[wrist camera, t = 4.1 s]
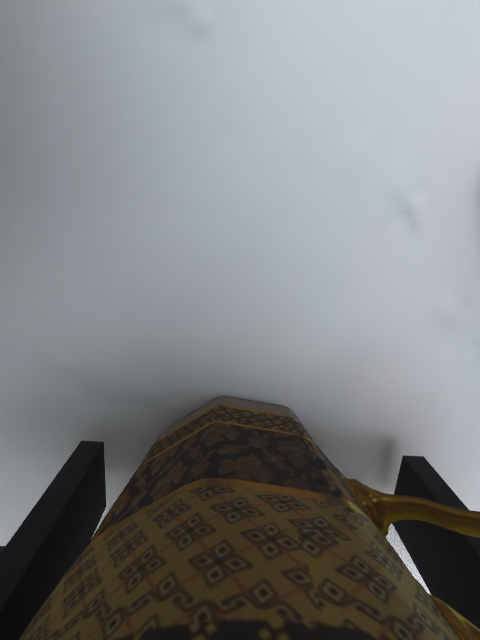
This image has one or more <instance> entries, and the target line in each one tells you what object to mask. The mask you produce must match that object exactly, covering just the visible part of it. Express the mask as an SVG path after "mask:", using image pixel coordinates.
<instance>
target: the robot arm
mask: <svg viewBox="0 0 480 640" xmlns="http://www.w3.org/2000/svg"><path fill="white" fill-rule="evenodd" d="M394 495H402V496H413V497H418V498H423V499H426V500H430V501H433V502H436V503H440V504H443V505H447V506H450V507H454V508H459V509H464V510H468V508H467V507H466V506H465V505H464V504H463V503H462V501H461V500H460V499H459V498H458V497H457V496H456V494H455V493H454V492H453V491H452V490H451V488H450V487H449V486H448V485H447V484H446V483H445V481H444V480H443V479H442V478H441V477H440V475H439V474H438V473H437V472H436V471H435V470H434V468H433V467H432V466H431V465H430V464H429V463H428V461H427V460H426V459H425V458H424V457H422V456H403V458H402V462H401V466H400V471H399V475H398V479H397V484H396V488H395V492H394ZM105 508H106V489H105V464H104V442H97V441H81V442H80V443H79V445H78V446H77V448H76V449H75V450H74V452H73V453H72V455H71V456H70V457H69V459H68V460H67V462H66V463H65V464H64V466H63V467H62V469H61V470H60V471H59V473H58V474H57V476H56V477H55V478H54V480H53V481H52V483H51V484H50V485H49V487H48V488H47V489H46V491H45V492H44V494H43V495H42V496H41V498H40V499H39V501H38V502H37V503H36V505H35V506H34V508H33V509H32V510H31V512H30V513H29V515H28V516H27V517H26V519H25V520H24V522H23V523H22V524H21V526H20V527H19V529H18V530H17V531H16V533H15V534H14V536H13V537H12V538H11V540H10V541H9V543H8V544H7V545H6V546H0V640H19V638H20V637H21V635H22V634H23V633H24V631H25V630H26V628H27V627H28V625H29V624H30V622H31V621H32V619H33V618H34V616H35V615H36V614H37V612H38V611H39V609H40V608H41V607H42V605H43V604H44V603H45V601H46V600H47V598H48V597H49V596H50V594H51V593H52V592H53V590H54V589H55V588H56V586H57V585H58V583H59V582H60V581H61V579H62V578H63V577H64V575H65V574H66V573H67V572H68V570H69V569H70V568H71V566H72V565H73V564H74V563H75V561H76V560H77V559H78V557H79V556H80V555H81V554H82V552H83V551H84V550H85V548H86V547H87V546H88V544H89V543H90V541H91V538H92V536H93V534H94V532H95V530H96V528H97V525H98V523H99V521H100V519H101V517H102V514H103V512H104V510H105ZM392 524H393V526H394V527H395V529H396V531H397V533H398V535H399V536H400V538H401V540H402V542H403V544H404V546H405V547H406V549H407V551H408V553H409V555H410V557H411V558H412V560H413V562H414V564H415V566H416V567H417V569H418V571H419V573H420V575H421V577H422V578H423V580H424V582H425V584H426V586H427V587H428V589H429V591H430V593H431V595H432V596H434V597H436V598H438V599H440V600H442V601H443V602H445V603H446V604H447V605H449V606H450V607H451V608H452V609H454V610H455V611H456V612H458V613H459V614H460V615H462V616H463V617H464V618H465V619H467V620H468V621H469V622H471V623H472V624H473V625H474V626H476V627H477V628H478V629H480V538H479V537H474V536H468V535H465V534H462V533H458V532H455V531H452V530H449V529H447V528H444V527H441V526H438V525H435V524H432V523H429V522H426V521H420V520H414V519H409V520H399V521H395V522H393V523H392Z"/></svg>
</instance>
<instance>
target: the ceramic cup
mask: <svg viewBox="0 0 480 640" xmlns="http://www.w3.org/2000/svg"><path fill="white" fill-rule="evenodd" d="M409 519H414V520H420V521H426V522H429V523H432V524H435V525H438V526H441V527H444V528H447V529H449V530H452V531H455V532H458V533H462V534H465V535H468V536H474V537H479V538H480V512H477V511H470V510H464V509H459V508H454V507H450V506H447V505H443V504H440V503H436V502H433V501H430V500H426V499H423V498H418V497H413V496H402V495H391V494H384V493H382V492H379V491H376V490H374V489H371V488H369V487H367V486H366V485H364V484H362V483H360V482H359V481H357V480H356V479H348V478H346V477H344V476H343V474H342V473H341V472H340V471H339V470H338V469H337V468H336V467H335V466H334V465H333V464H332V463H331V462H330V460H329V459H328V458H327V457H326V456H325V455H324V454H323V452H322V451H321V450H320V449H319V448H318V447H317V445H316V444H315V442H314V441H313V440H312V438H311V437H310V435H309V434H308V433H307V431H306V430H305V428H304V427H303V426H302V424H301V423H300V421H299V420H298V418H297V417H296V416H295V414H294V413H293V412H292V411H291V410H290V409H289V408H287V407H282V406H277V405H272V404H266V403H260V402H254V401H248V400H242V399H236V398H230V397H219V398H217V399H215V400H213V401H212V402H210V403H208V404H207V405H205V406H203V407H202V408H200V409H199V410H197V411H195V412H194V413H192V414H190V415H189V416H187V417H185V418H184V419H182V420H180V421H179V422H177V423H176V424H174V425H172V426H171V427H169V428H168V429H166V430H164V431H163V433H162V434H161V435H160V437H159V438H158V439H157V441H156V442H155V444H154V445H153V446H152V448H151V449H150V451H149V452H148V454H147V456H146V457H145V459H144V460H143V462H142V464H141V465H140V467H139V468H138V469H137V471H136V472H135V474H134V475H133V476H132V478H131V479H130V481H129V482H128V484H127V485H126V487H125V488H124V490H123V491H122V493H121V494H120V496H119V497H118V499H117V500H116V501H115V503H114V504H113V506H112V507H111V509H110V510H109V512H108V513H107V515H106V516H105V518H104V520H103V521H102V523H101V525H100V526H99V528H98V529H97V531H96V533H95V534H94V536H93V538H92V539H91V541H90V543H89V544H88V546H87V547H86V548H85V550H84V551H83V552H82V554H81V555H80V556H79V557H78V559H77V560H76V561H75V563H74V564H73V565H72V566H71V568H70V569H69V570H68V572H67V573H66V574H65V575H64V577H63V578H62V579H61V581H60V582H59V583H58V585H57V586H56V588H55V589H54V590H53V592H52V593H51V594H50V596H49V597H48V598H47V600H46V601H45V603H44V604H43V605H42V607H41V608H40V609H39V611H38V612H37V614H36V615H35V616H34V618H33V619H32V621H31V622H30V624H29V625H28V627H27V628H26V630H25V631H24V633H23V634H22V635H21V637H20V638H19V640H480V629H478V628H477V627H476V626H474V625H473V624H472V623H471V622H469V621H468V620H467V619H465V618H464V617H463V616H462V615H460V614H459V613H458V612H456V611H455V610H454V609H452V608H451V607H450V606H449V605H447V604H446V603H445V602H443V601H442V600H440V599H438V598H436V597H434V596H432V595H430V594H428V593H427V592H426V591H425V589H424V588H423V586H422V585H421V584H420V583H419V582H418V581H417V580H416V579H415V578H414V577H413V576H412V574H411V573H410V571H409V570H408V568H407V567H406V566H405V564H404V563H403V561H402V560H401V558H400V557H399V555H398V554H397V552H396V551H395V550H394V548H393V547H392V546H391V544H390V543H389V542H388V541H387V539H386V538H385V537H386V535H387V534H388V528H389V525H390V524H391V523H393V522H395V521H399V520H409Z"/></svg>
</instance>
